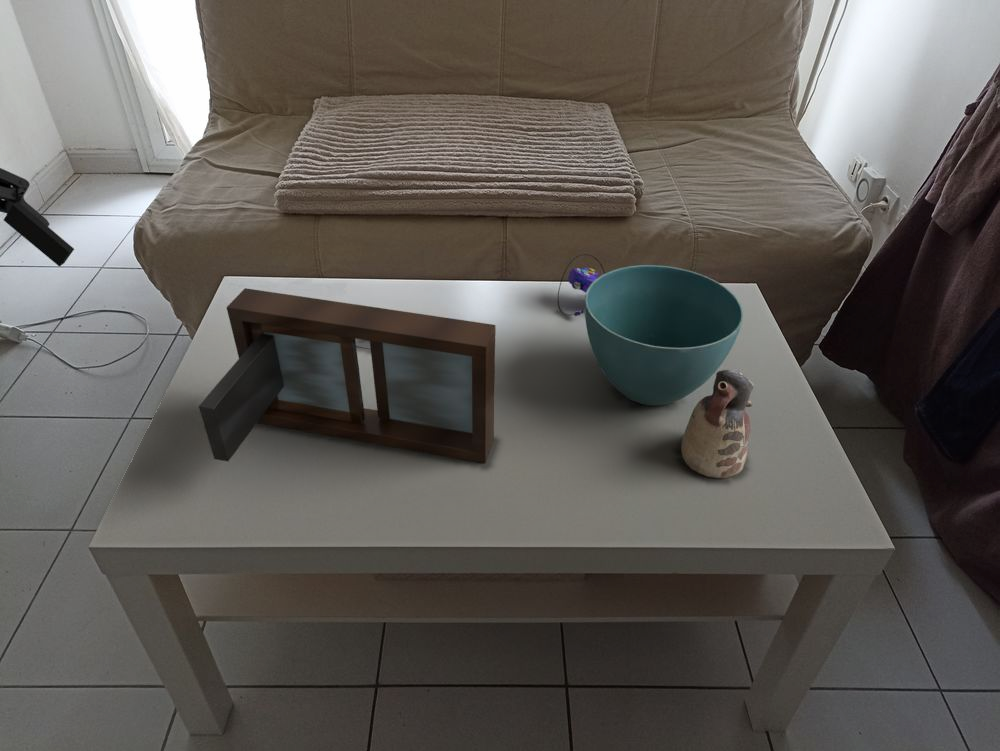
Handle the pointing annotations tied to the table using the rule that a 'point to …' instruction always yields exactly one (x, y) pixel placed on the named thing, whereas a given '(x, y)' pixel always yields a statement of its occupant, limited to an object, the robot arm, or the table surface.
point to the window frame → (393, 372)
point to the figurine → (720, 428)
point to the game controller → (581, 280)
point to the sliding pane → (283, 384)
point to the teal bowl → (660, 330)
